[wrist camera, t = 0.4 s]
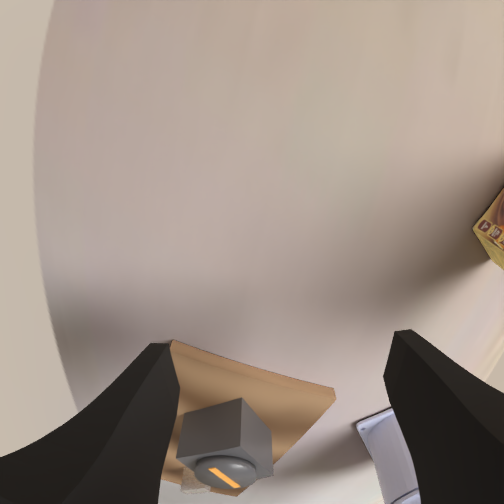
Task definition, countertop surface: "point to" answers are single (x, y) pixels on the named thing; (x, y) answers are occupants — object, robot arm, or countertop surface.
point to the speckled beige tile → (192, 483)
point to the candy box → (493, 230)
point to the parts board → (252, 391)
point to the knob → (226, 445)
